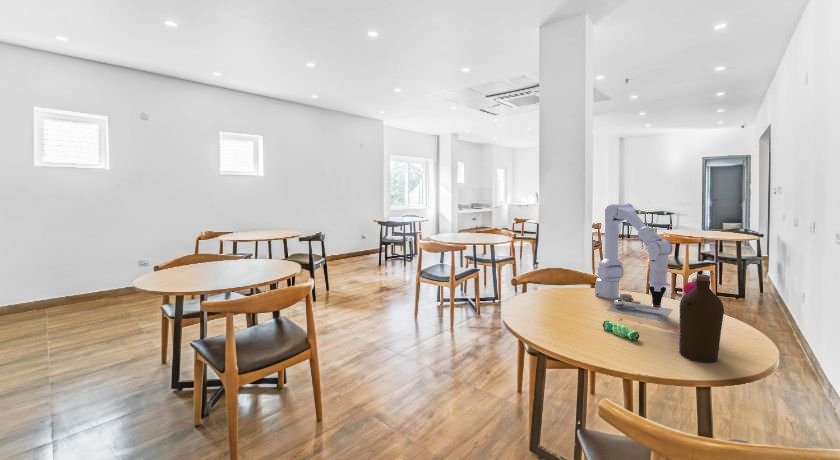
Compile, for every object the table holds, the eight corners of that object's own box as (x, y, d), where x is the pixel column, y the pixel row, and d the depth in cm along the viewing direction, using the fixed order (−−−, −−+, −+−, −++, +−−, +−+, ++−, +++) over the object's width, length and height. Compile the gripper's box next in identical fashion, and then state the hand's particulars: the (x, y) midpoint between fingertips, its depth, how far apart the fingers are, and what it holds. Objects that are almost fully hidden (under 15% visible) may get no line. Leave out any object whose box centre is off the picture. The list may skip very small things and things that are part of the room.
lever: (613, 305, 155) (613, 295, 155) (614, 302, 159) (614, 292, 158) (660, 311, 146) (661, 300, 146) (660, 308, 150) (661, 298, 150)
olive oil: (718, 367, 106) (724, 281, 104) (673, 356, 114) (678, 276, 111) (721, 355, 114) (728, 274, 111) (680, 345, 121) (684, 269, 118)
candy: (600, 327, 136) (606, 317, 136) (606, 331, 137) (611, 321, 137) (629, 340, 125) (635, 329, 125) (635, 344, 126) (641, 333, 126)
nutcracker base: (606, 313, 153) (606, 301, 153) (619, 302, 166) (619, 292, 166) (663, 324, 140) (664, 312, 139) (672, 312, 153) (673, 300, 152)
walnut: (623, 304, 159) (623, 296, 159) (625, 302, 162) (626, 295, 162) (632, 306, 157) (633, 298, 157) (634, 304, 160) (635, 296, 159)
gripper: (671, 276, 137) (669, 312, 139) (670, 268, 149) (668, 301, 151) (648, 274, 141) (646, 309, 142) (649, 266, 153) (648, 299, 154)
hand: (656, 305), depth 147 cm, fingers closed
